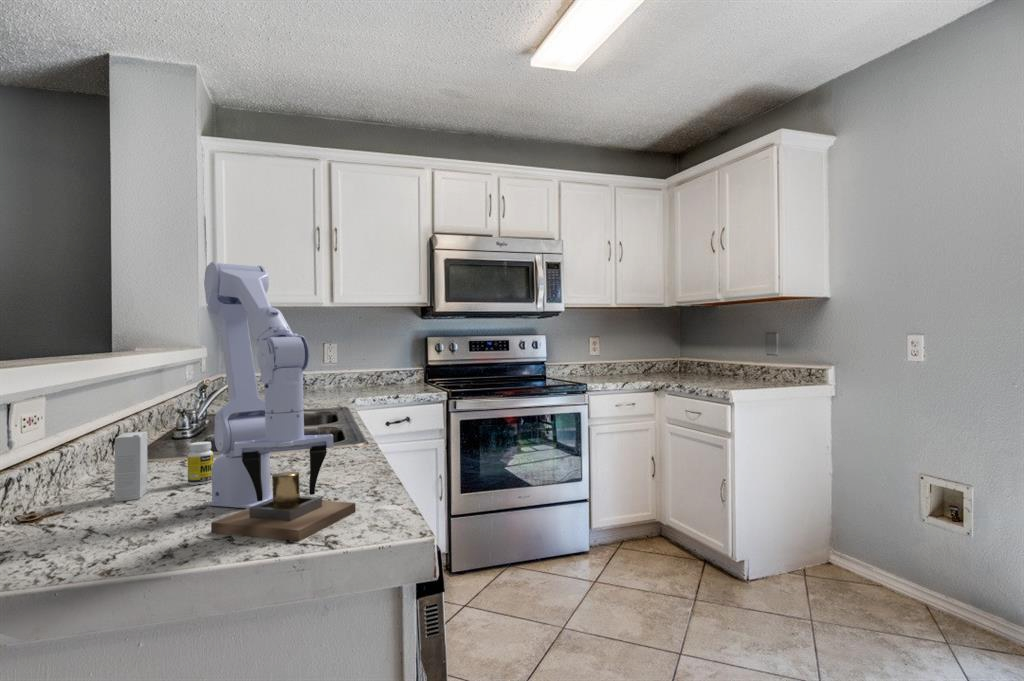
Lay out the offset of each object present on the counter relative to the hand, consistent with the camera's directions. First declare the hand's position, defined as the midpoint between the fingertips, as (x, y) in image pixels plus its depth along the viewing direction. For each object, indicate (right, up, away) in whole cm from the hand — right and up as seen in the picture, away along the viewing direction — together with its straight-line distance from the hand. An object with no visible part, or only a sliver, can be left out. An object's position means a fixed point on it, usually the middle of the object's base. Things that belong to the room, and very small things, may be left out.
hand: (286, 496), depth 87 cm
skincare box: (-37, -6, +18) cm, 42 cm away
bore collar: (0, -3, 0) cm, 2 cm away
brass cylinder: (0, -3, 0) cm, 3 cm away
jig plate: (0, -4, 0) cm, 4 cm away
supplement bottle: (-30, -5, +28) cm, 41 cm away
